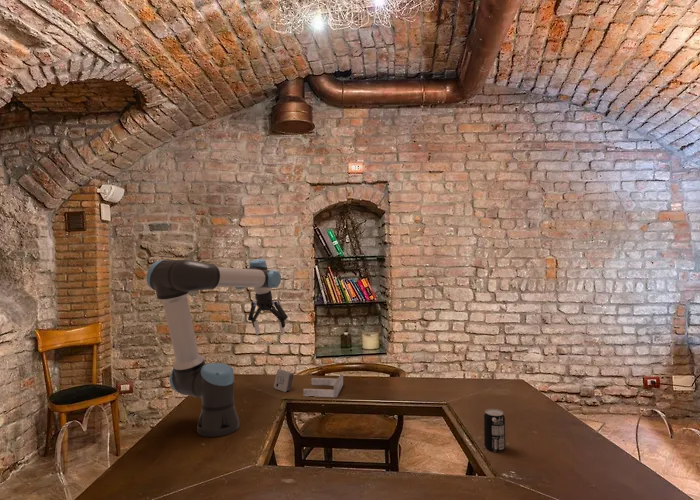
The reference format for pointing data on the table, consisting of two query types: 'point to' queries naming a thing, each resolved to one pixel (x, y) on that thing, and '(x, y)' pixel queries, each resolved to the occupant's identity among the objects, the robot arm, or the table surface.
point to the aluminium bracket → (325, 392)
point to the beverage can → (494, 430)
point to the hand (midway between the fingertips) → (270, 333)
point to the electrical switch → (283, 380)
